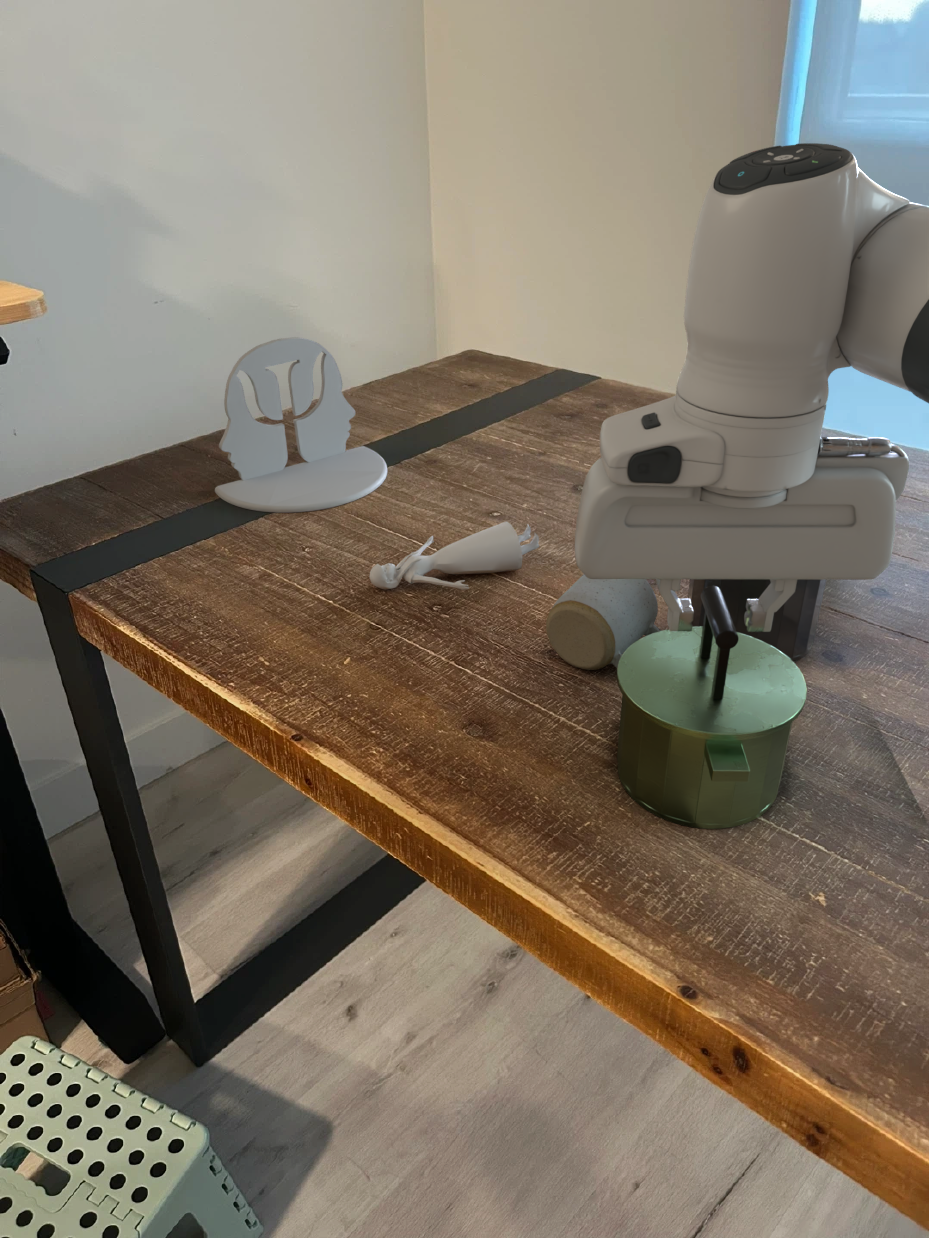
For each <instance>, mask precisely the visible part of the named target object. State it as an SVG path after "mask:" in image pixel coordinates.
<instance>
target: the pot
mask: <svg viewBox="0 0 929 1238" xmlns="http://www.w3.org/2000/svg"><path fill="white" fill-rule="evenodd" d="M692 627H694V626H692ZM793 722H794V721H793ZM793 722H792V723H791V724H790V725H788V726H787V727H785V728H784V729H782V730H779V731H777V732H775V733H773V734H770V735H767V736H764V737H759V738H754V739H748V740H738V741H720V740H709V739H701V738H696V737H691V736H687V735H683V734H680V733H677V732H674V731H671V730H669V729H666V728H663V727H661V726H659V725H657V724H655V723H653V722H651V721H650V720H648V719H647V718H645V717H643V716H642V715H641V714H640V713H638V712H637V711H636V710H634V708H633V707H632V706H631V705H630V704H629V703H628V702H627V701H626V699H625V698H624V697H623V695H622V694H621V705H620V716H619V727H618V740H617V749H616V750H617V751H616V761H617V774H618V778H619V781H620V783H621V786H622V787H623V789H624V790H625V792H626V794H628V796H629V797H630V798H631V799H632V800H633V801H634V802H635V803H636V804H637V805H639V807H641V808H643V809H644V810H645V811H647V812H649V813H650V814H652V815H654V816H656V817H658V818H660V819H662V820H665V821H667V822H670V823H673V824H675V825H680V826H685V827H688V828H694V829H695V828H696V829H704V830H705V829H707V830H719V829H721V830H723V829H729V828H735V827H738V826H742V825H746V824H748V823H750V822H753V821H754V820H756V819H758V818H760V817H761V816H763V815H764V814H765V813H767V812H768V810H769V809H770V808H771V807H772V806H773V804H774V802H775V801H776V798H777V797H778V793H779V788H780V785H781V781H782V776H783V772H784V767H785V762H786V756H787V751H788V747H789V741H790V737H791V732H792V726H793Z"/></svg>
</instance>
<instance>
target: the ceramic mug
mask: <svg viewBox="0 0 929 1238" xmlns="http://www.w3.org/2000/svg"><path fill="white" fill-rule="evenodd" d="M658 613H659V605H658V599H657V596H656V593H655V591H654V589H653V587H652V586H651V584H650V582H649V581H648V579H589V578H587V577H586V576H585V575H584V574H582V575H581V576H580V577H579V578H578V579H577V580H576V581H575V582H574V583H573V584H572V585H571V586H569V588H568V589H567V590H566V591H565V592H564V593H563V594H562V595H561V596H560V597H559V598H558V599H557V600H556V601H555V602H554V604H553V606H552V607H551V609H550V610H549V612H548V614H547V617H546V621H545V632H546V635H547V638H548V641H549V644H550V645H551V647H552V649H553V650H554V651H555V653H557V655H558V656H559V657H560V658H561V659H562V660H563V661H565V662H566V663H568V664H569V665H571V666H573V667H574V668H577V669H580V670H585V671H595V670H600V669H603V668H604V667H606V666H608V665H613V666H614V667H615V668H616V669H617V668H618V663H619V660H620V658H621V656H622V655H623V653H624V652H625V650H626V649H627V648H628V647H629V646H630V645H632V644H633V643H634V642H636V641H637V640H639V639H641V638H643V637H645V636H647V635H650V634H652V633H655V632H659V631H662V630H661V629H660V628H659V627H658V626H657V625H656V624H655V623H656V620H657V617H658Z"/></svg>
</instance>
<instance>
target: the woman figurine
mask: <svg viewBox="0 0 929 1238" xmlns="http://www.w3.org/2000/svg"><path fill="white" fill-rule="evenodd" d="M531 528H532V527H531V526H530V525H529V524H528V523H526V528H525V529H524V531H523V532H522V534H518V533H517V531H516V529H515V527H514V526H513V525H512V524H511V523H510V522H509V521H503V522H500V523H498V524H496V525H495V524H494V525H493V526H489V527H488V528H486V529H485V528H484V529H483V530H480V531H476V532H475V533H473V534H470V535H467V536H466V537H463V538H460V539H459V540H456V541H454V542H452V543H450V544H448V545H446V546H444V547H442V548H440V549H438V550H437V551H435V552H433V553H432V554H431V555H422V554H423V552H424V551H425V550H426V549H427V548H428V547H429V546H430V545H431V544H433V543H435V541H434V535H431V536H429V537H428V539H427V541H426V542H425V543H423V545H421V546H420V548H418V549H417V550H416V551H412V552H411V553H410V554H408V555H406V556H405V557H404V558H402V559H401V560H400V561H399V563H397V564H396V565H395V564H393V563H391V562H388V563H385V564H382V565H380V564H379V563H376V564H375V565H373V566H372V568H371V569H370V572H369V580H370V583H371V584H372V585H373V586H375V588H378V589H381V590H391V589H395V588H397V587H398V586H399V584H400V583H401V581H402V579H403V580H404V581H406V582H408V583H409V584H412V585H413V584H414V583H425V584H432V585H437V586H443V587H451V588H454V589H458V590H461V591H466V590H469V589H470V586H469V584H465V583H464V582H465V581H466V580H465V579H462V580H457V581H455V582H452V581H447V580H441V579H439V578H436V577H432V576H425V575H426V574H428V573H429V572H431V571H433V570H434V571H435V570H437V571H438V572H440V573H444V574H448V575H472V574H473V575H474V574H476V575H477V574H492V573H493V574H494V573H503V572H511V571H519V570H521V569H522V566H523V559H524V557H523V555H526V554H528V553H530V552H532V551H536V549H539V548H540V543H539V542H540V536H539V535H538V533H536V532H534V536H533V537H532V535H531V533H532V532H531V531H532V529H531ZM531 538H532V539H531ZM529 539H531V541H530V542H529V543H525V544H522V545H521V543H522V542H524V541H525V542H526V541H527V540H529Z"/></svg>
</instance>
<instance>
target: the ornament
mask: <svg viewBox="0 0 929 1238" xmlns="http://www.w3.org/2000/svg"><path fill="white" fill-rule="evenodd" d="M321 353H322V354H321ZM319 355H321V360H320V374H321V375H320V376H321V387H320V394H319V397H318V400H317V402H316V404H315V405H314V406H313V408H312V409H310V410H309V411H308V412H307V413H306V414H305V415H302V414H304V413H305V412H306V411H307V410H308V409H309V408H310V406H311V404H312V402H313V399H314V393H315V386H314V367H315V363H316V360H317V359H318V357H319ZM291 362H292V363H291ZM287 363H291V364H290V366H289V368H288V372H287V381H288V382H287V383H288V389H289V396H290V397H289V398H290V404H291V410H292V415H293V416H294V417H298V416H300V415H302V416H301V417H298V418H295V419H293V420H292V421H293V425H294V434H295V441H296V447H297V453H298V455H299V456H300V457H301V458H302V460H304V462H300V463H295V464H292V465H289V466H287V463H288V460H289V454H288V446H287V445H288V444H287V436H286V431H285V430H286V429H285V428H286V427H285V424H284V423H283V422H279V423H275V424H268V423H263V422H261V421H258V420H256V419H255V418H254V416H253V415H252V413H251V411H250V410H249V407H248V404H247V401H246V396H245V390H244V386H243V382H242V381H241V379H240V377H239V376H238V375H239V372H240V371H241V372H243V373H245V375H246V376H247V377H248V379H249V381H250V383H251V385H252V388H253V392H254V398H255V404H256V405H257V408H258V409H259V410H258V411H260V413H261V414H262V415H263V416H265V417H266V418H268V419H270V420H273V421H281V420H284V414H283V407H282V406H283V405H282V397H281V390H280V389H281V388H280V383H279V380H278V376H277V375H276V374H275V372H274V371H273V370H271V369H270V368H269V367H274V366H279V365H283V364H287ZM342 391H343V378H342V374H341V371H340V368H339V365H338V363H337V362H336V359H335V358H334V356H333V355H332V353H331V352H330V351H329V350H328V349H326V348H325V347H324V346H323V345H322V344H320V343H319V342H316V341H314V340H312V339H309V338H305V337H299V336H291V337H282V338H281V337H280V338H276V339H272V340H269V341H267V342H263V343H260V344H257V345H256V346H254V347H252V348H250V349H249V350H248V351H247V352H245V353H244V354H243V355H242V356H240V358H238V359H237V361H236V362H235V363H234V365H233V367H232V369H231V371H230V372H229V375H228V377H227V379H226V384H225V389H224V400H223V403H224V404H223V406H224V412H225V414H226V416H227V422H226V427H225V430H224V433H223V435H222V437H221V439H220V441H219V443H218V449H220V450H221V451H222V452H225V453H228V454H227V460H228V461H229V462H231V463H230V465H231V467H232V468H233V469H235V470H236V471H237V473H238V477H239V478H240V479H237V480H234V481H231V482H227V483H223V484H220V485H217V486H215V488H214V493H215V495H217V496H218V497H219V498H220V499H222V500H223V501H224V502H227V503H228V504H230V505H233V506H236V507H239V508H241V509H246V510H250V511H257V512H264V513H279V514H281V513H288V514H289V513H303V512H313V511H320V510H326V509H331V508H334V507H338V506H339V507H340V506H342V505H344V504H345V505H346V504H348V503H352V502H354V501H357V500H358V499H361V498H364V497H366V496H367V495H369V494H372V492H374V491H376V490H377V489H378V488H379V487H381V485H383V483H384V482H385V480H386V478H387V476H388V465H387V463H386V461H385V459H384V458H383V457H382V456H381V454H379V453H378V452H377V451H375V450H373V449H371V448H370V447H367V446H364V445H361V446H357V447H354V448H351V449H347V440H348V439H350V435H351V434H350V431H351V429H352V424H351V423H350V420H351V419H353V418H354V417H355V416H356V410H355V408H354V407H353V406H352V405H351V404H350V403H349V402H348V400H347V399H346V398H345V396H344V393H343V392H342Z"/></svg>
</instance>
